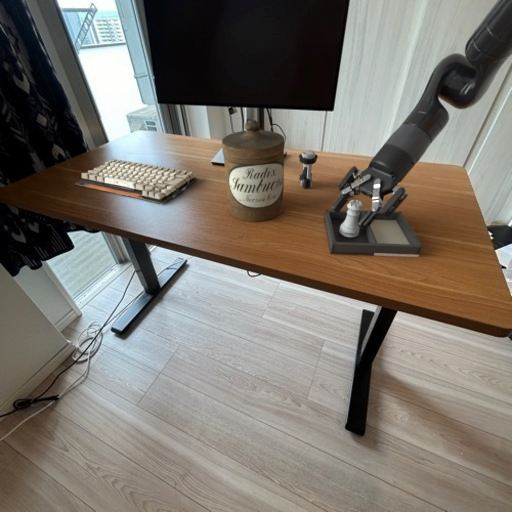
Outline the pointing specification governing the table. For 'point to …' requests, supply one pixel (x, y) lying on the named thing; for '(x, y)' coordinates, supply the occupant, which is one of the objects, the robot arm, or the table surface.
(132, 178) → the mechanical keyboard
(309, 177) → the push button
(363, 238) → the sorting tray
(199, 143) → the table surface
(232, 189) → the wooden container
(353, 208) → the rook chess piece
